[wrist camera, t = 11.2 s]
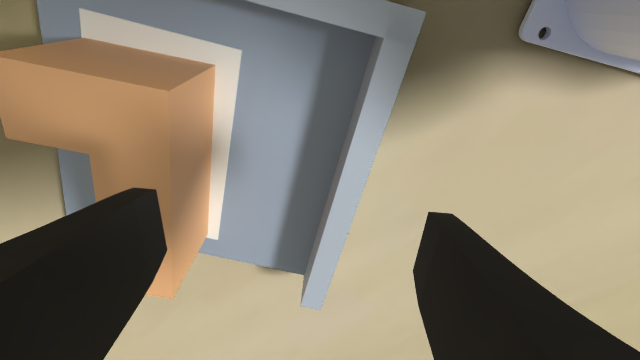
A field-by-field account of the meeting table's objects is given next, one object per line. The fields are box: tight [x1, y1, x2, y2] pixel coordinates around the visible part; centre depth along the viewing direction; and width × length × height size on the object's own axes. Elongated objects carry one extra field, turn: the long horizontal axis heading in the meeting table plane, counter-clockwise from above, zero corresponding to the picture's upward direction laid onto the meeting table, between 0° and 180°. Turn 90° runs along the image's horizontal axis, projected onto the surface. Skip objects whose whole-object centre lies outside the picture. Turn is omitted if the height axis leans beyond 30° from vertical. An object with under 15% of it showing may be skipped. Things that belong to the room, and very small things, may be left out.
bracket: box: [0, 38, 216, 299], centre depth 16 cm, size 10×6×5 cm, turn 169°
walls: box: [246, 0, 427, 310], centre depth 17 cm, size 16×16×4 cm
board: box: [36, 0, 376, 275], centre depth 18 cm, size 16×16×1 cm
